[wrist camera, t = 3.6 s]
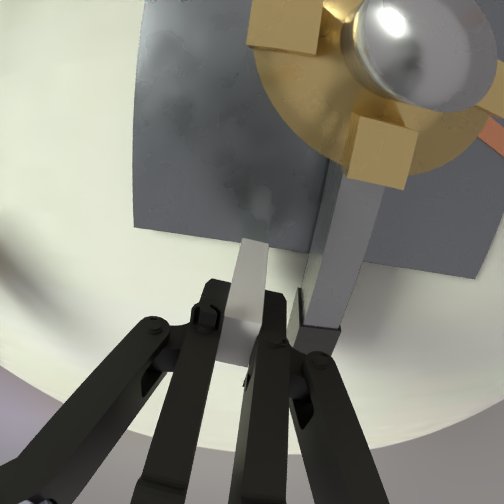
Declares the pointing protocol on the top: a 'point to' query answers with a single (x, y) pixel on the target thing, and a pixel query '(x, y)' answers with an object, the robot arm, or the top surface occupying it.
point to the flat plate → (300, 153)
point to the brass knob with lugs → (346, 146)
